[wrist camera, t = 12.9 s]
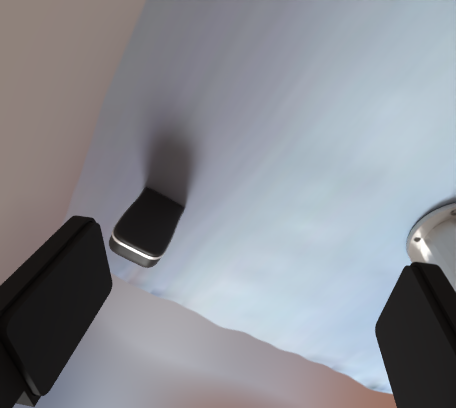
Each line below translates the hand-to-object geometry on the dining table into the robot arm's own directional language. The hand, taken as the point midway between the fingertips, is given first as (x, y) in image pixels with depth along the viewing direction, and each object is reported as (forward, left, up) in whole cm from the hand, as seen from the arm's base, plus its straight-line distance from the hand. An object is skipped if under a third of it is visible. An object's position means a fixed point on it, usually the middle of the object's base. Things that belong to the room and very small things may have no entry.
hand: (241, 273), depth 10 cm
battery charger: (+14, +18, -30) cm, 38 cm away
